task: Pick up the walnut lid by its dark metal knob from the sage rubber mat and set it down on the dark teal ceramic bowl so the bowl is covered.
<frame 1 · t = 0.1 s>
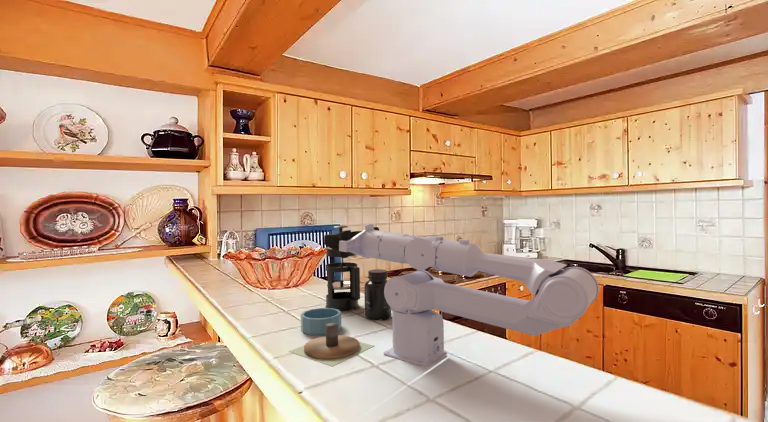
hand: (337, 238, 86), 22 cm above the counter, tool horizontal, fingers open, 7 cm apart
walnut lid: (332, 348, 78), resting on sage mat
supplement bottle: (378, 318, 99), on the counter
sage mat: (332, 350, 78), on the counter
french press: (343, 308, 109), on the counter
teal bowl: (321, 330, 90), on the counter
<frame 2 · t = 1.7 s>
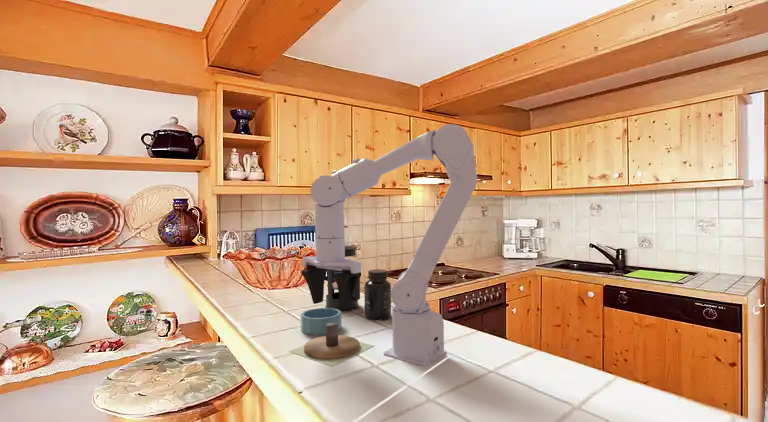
hand: (331, 305, 78), 9 cm above the counter, tool pointing down, fingers open, 7 cm apart
nothing on the counter moved.
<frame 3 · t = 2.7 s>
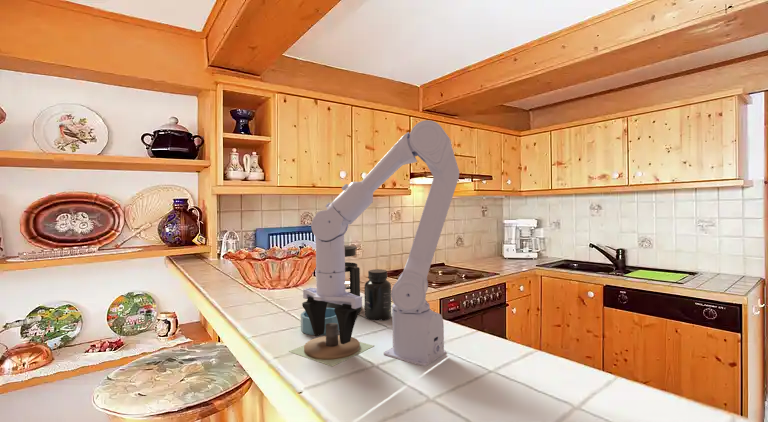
hand: (331, 338, 78), 2 cm above the counter, tool pointing down, fingers open, 7 cm apart
nothing on the counter moved.
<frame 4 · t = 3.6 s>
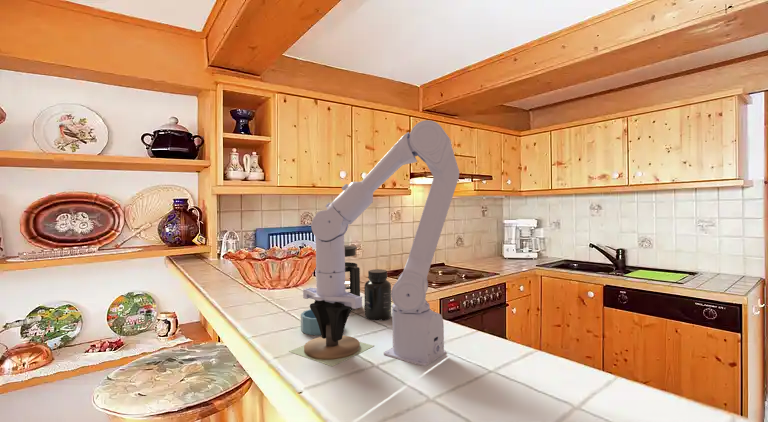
hand: (332, 338, 78), 2 cm above the counter, tool pointing down, fingers closed on walnut lid, 2 cm apart
walnut lid: (332, 348, 78), resting on sage mat, touching gripper
everything else where it was.
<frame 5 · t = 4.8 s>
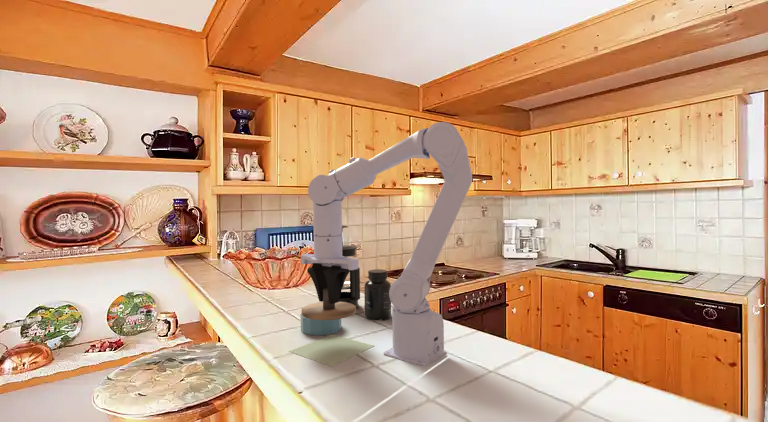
hand: (328, 301, 80), 9 cm above the counter, tool pointing down, fingers closed on walnut lid, 2 cm apart
walnut lid: (329, 312, 80), point 7 cm above the counter, touching gripper
everything else where it was.
when the fingers open (7 cm above the counter, at t = 6.0 s): walnut lid drops 1 cm, point 4 cm above the counter.
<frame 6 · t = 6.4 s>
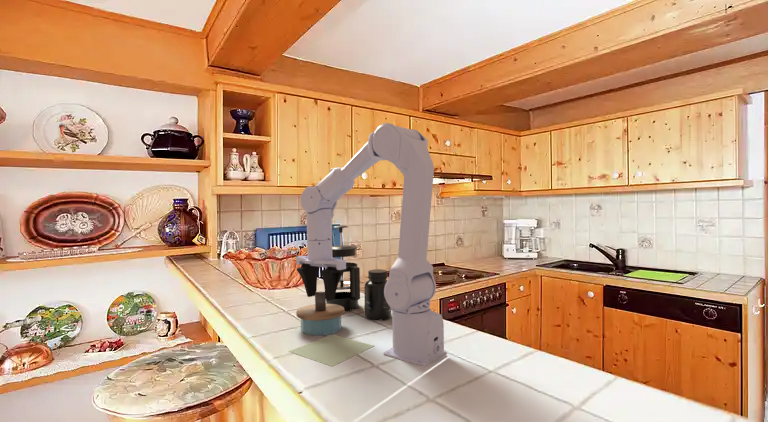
hand: (320, 297, 90), 7 cm above the counter, tool pointing down, fingers open, 6 cm apart
walnut lid: (320, 313, 90), point 4 cm above the counter
everything else where it was.
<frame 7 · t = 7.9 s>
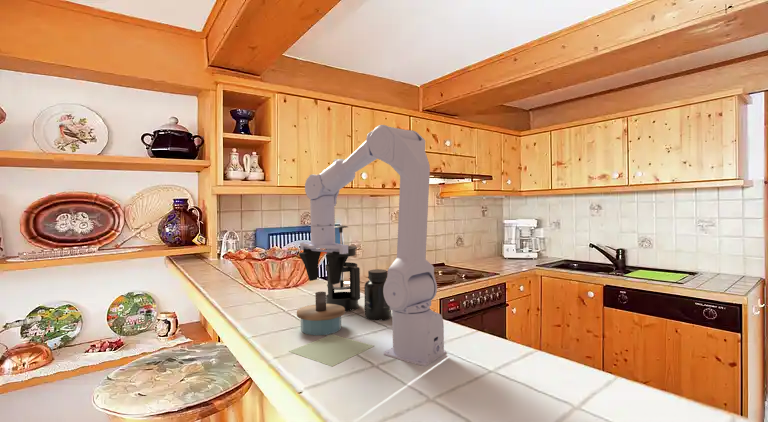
hand: (323, 281, 94), 10 cm above the counter, tool pointing down, fingers open, 7 cm apart
nothing on the counter moved.
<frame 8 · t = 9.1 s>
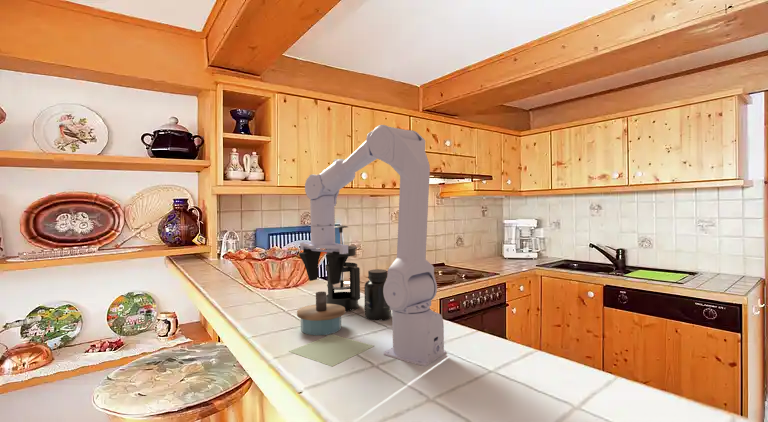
hand: (323, 281, 94), 10 cm above the counter, tool pointing down, fingers open, 7 cm apart
walnut lid: (321, 313, 90), point 4 cm above the counter, touching teal bowl
teal bowl: (321, 330, 90), on the counter, touching walnut lid
everything else where it was.
at the end: walnut lid 0.2 cm off-centre on the teal bowl, point 4.0 cm above the teal bowl's base; walnut lid tilted 0°; the gripper is holding nothing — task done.
